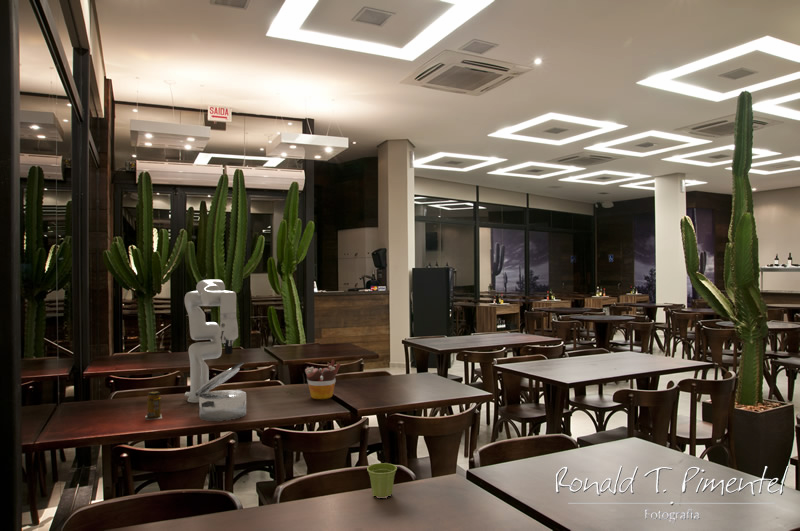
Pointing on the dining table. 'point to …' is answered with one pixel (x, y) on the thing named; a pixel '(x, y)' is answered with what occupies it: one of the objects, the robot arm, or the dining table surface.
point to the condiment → (153, 406)
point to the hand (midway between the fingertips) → (228, 353)
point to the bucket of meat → (322, 381)
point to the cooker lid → (219, 379)
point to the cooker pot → (222, 405)
